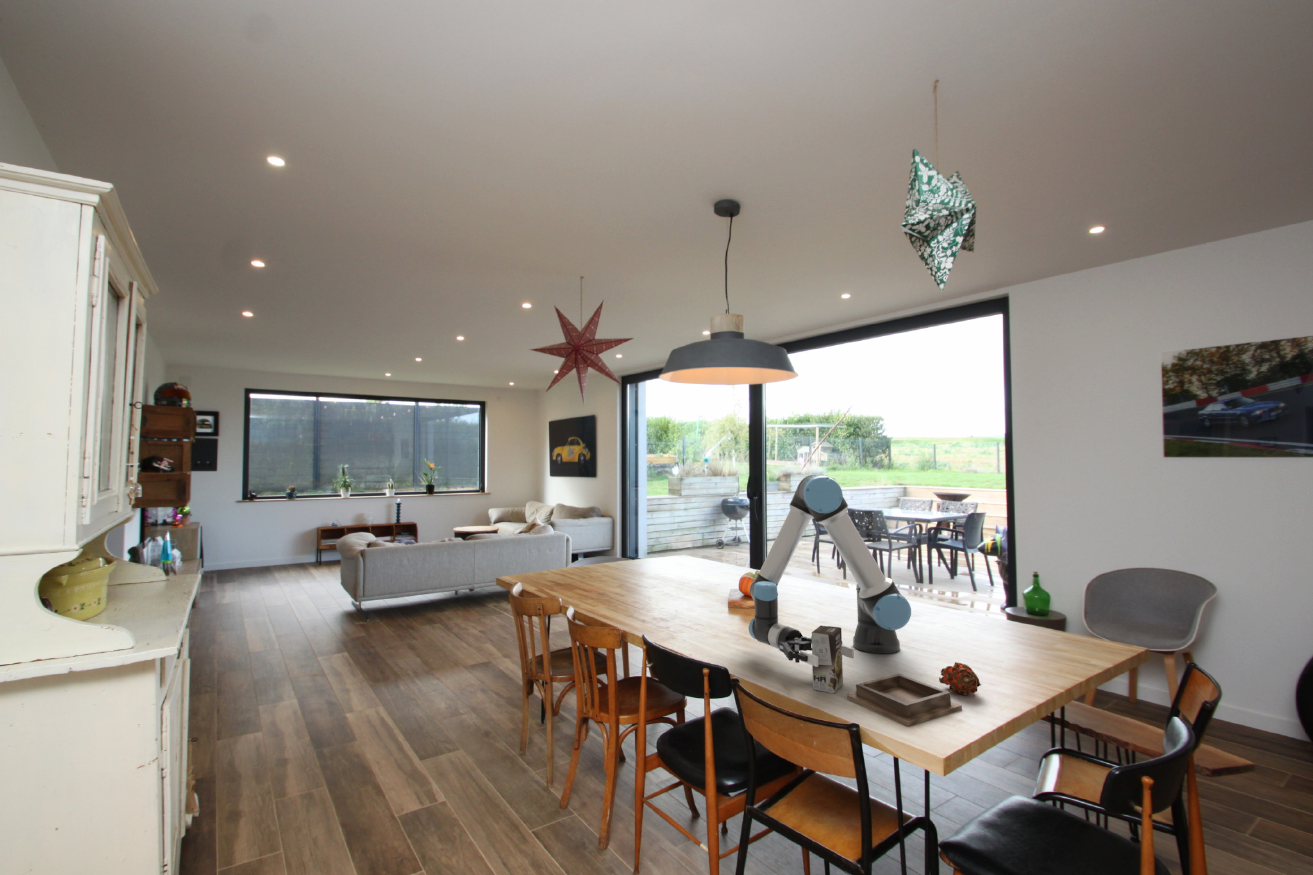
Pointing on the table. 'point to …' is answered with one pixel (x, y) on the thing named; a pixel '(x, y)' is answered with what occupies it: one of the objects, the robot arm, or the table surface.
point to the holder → (904, 699)
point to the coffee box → (827, 658)
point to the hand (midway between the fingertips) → (835, 657)
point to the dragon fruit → (960, 678)
